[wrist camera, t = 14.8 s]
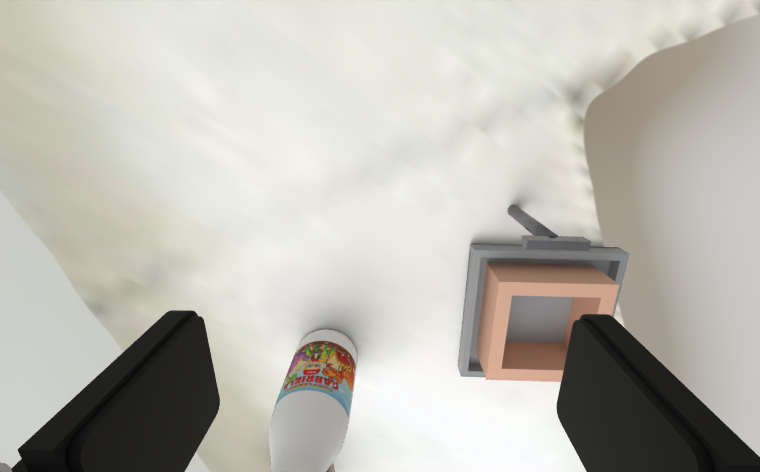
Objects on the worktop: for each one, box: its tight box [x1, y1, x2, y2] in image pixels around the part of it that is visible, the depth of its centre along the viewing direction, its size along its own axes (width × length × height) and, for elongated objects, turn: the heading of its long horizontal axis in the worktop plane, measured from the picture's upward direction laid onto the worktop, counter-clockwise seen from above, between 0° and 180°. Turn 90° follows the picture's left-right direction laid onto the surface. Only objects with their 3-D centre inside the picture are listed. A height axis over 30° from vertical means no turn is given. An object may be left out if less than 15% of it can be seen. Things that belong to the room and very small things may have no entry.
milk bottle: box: [269, 329, 357, 472], centre depth 37 cm, size 8×8×20 cm
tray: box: [458, 244, 629, 377], centre depth 43 cm, size 17×17×2 cm
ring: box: [476, 263, 619, 382], centre depth 41 cm, size 12×12×5 cm
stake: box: [508, 205, 590, 251], centre depth 35 cm, size 1×5×11 cm, turn 89°
